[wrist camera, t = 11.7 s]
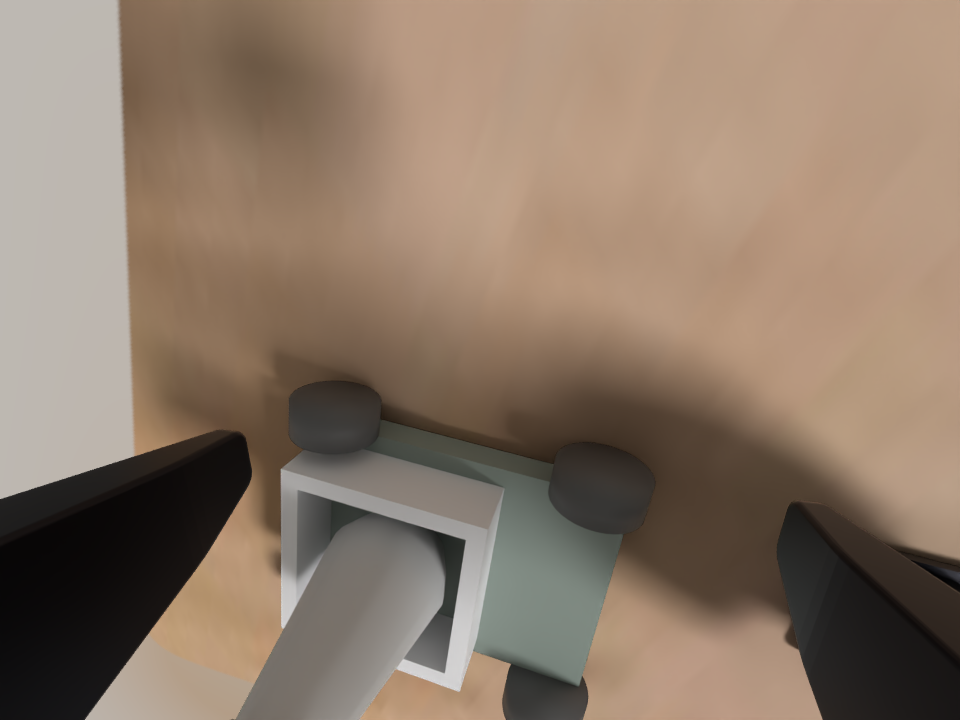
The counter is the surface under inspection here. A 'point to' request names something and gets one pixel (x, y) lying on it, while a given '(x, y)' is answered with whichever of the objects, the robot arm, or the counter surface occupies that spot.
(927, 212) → the counter surface
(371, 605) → the salt shaker
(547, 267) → the counter surface
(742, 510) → the counter surface
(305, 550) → the toy wheeled cart
